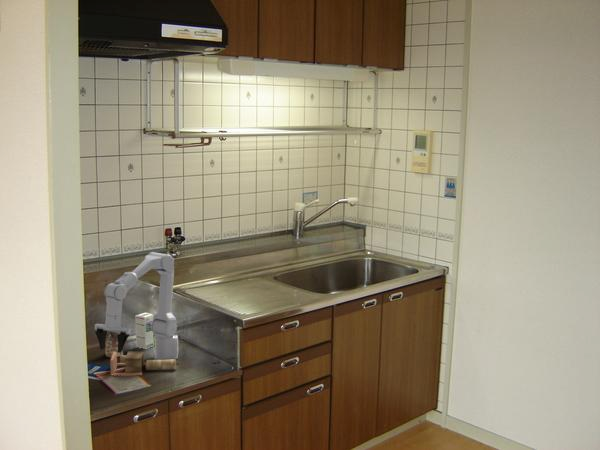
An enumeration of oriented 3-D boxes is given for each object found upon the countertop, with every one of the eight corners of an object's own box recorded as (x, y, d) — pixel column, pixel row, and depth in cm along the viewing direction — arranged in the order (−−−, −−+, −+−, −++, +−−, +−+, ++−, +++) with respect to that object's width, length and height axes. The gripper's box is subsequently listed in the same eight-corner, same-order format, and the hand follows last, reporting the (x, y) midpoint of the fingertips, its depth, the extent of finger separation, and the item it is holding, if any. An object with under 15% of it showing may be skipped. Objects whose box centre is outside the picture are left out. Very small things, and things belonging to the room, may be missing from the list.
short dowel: (141, 362, 288) (141, 354, 288) (140, 363, 285) (140, 355, 285) (121, 362, 287) (121, 354, 287) (120, 364, 284) (120, 356, 284)
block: (143, 365, 282) (143, 351, 282) (141, 373, 274) (140, 358, 273) (128, 365, 282) (127, 351, 281) (125, 373, 273) (125, 359, 272)
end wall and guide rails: (145, 364, 284) (144, 349, 283) (142, 375, 272) (141, 360, 271) (114, 365, 283) (114, 350, 282) (110, 376, 271) (109, 361, 270)
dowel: (176, 367, 282) (175, 357, 281) (175, 370, 278) (175, 361, 277) (146, 368, 280) (146, 358, 280) (145, 371, 276) (145, 362, 276)
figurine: (120, 357, 292) (119, 329, 290) (103, 357, 292) (102, 329, 290) (125, 351, 299) (124, 324, 297) (108, 351, 299) (107, 324, 297)
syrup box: (145, 349, 301) (145, 317, 299) (135, 347, 305) (135, 314, 302) (155, 346, 306) (154, 313, 304) (145, 343, 309) (144, 311, 307)
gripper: (91, 314, 266) (88, 349, 267) (125, 319, 262) (122, 355, 263) (101, 311, 273) (99, 346, 273) (134, 316, 269) (132, 351, 269)
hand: (111, 350), depth 268 cm, fingers open, 7 cm apart
